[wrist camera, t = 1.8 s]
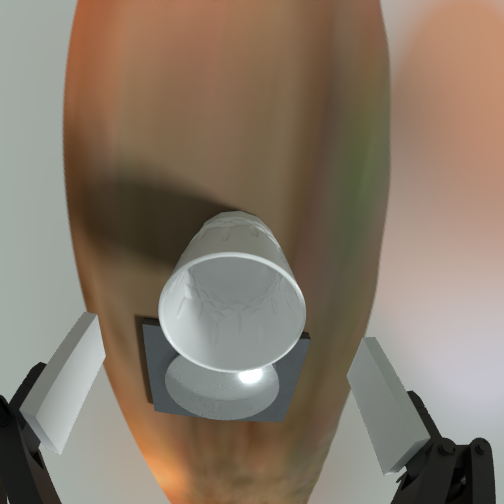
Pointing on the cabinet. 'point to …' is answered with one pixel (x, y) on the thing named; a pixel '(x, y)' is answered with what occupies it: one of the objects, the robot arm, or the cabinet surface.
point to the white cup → (232, 297)
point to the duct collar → (219, 383)
